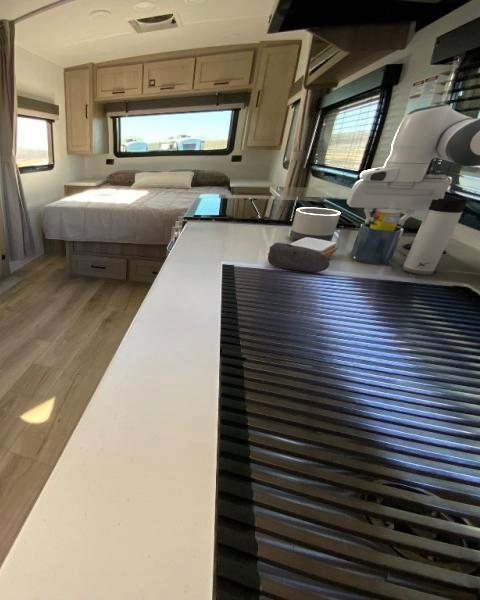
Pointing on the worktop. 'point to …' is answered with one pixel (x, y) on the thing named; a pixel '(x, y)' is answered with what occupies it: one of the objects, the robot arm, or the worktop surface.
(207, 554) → the worktop surface
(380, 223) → the supplement bottle
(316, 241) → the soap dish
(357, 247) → the blue cylindrical cup
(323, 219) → the planter
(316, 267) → the perforated stone tool
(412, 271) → the travel mug
